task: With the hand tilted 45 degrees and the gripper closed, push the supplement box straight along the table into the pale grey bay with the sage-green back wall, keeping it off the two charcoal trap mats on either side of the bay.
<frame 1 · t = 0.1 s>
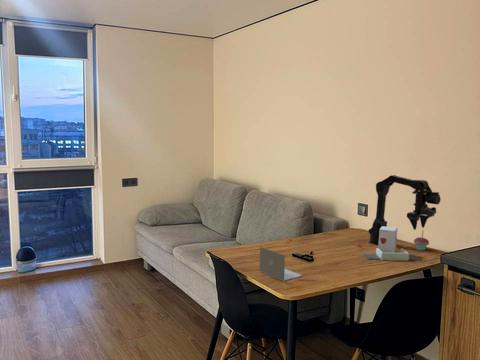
hand: (418, 228, 253), 15 cm above the table, tool pointing down, fingers open, 9 cm apart
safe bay: (391, 257, 245), on the table
supplement box: (387, 253, 254), on the table
cupcake: (420, 249, 263), on the table
laptop: (280, 274, 215), on the table
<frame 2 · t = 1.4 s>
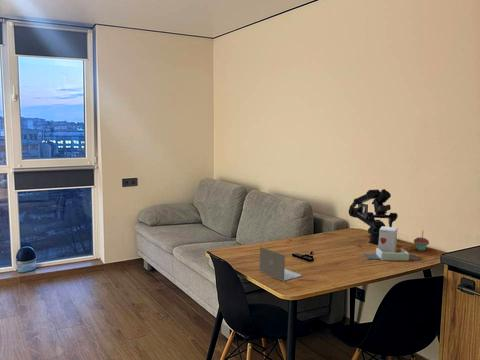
hand: (383, 228, 262), 12 cm above the table, tool tilted 45°, fingers open, 9 cm apart
nothing on the table moved.
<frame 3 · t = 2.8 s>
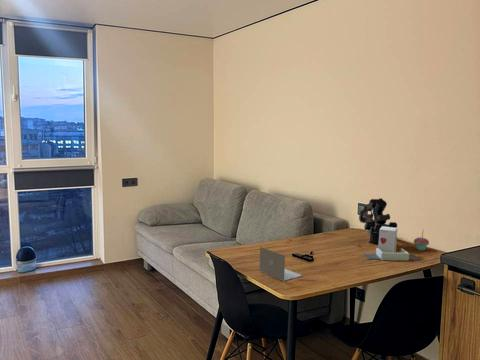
hand: (383, 238, 261), 7 cm above the table, tool tilted 45°, fingers closed
nothing on the table moved.
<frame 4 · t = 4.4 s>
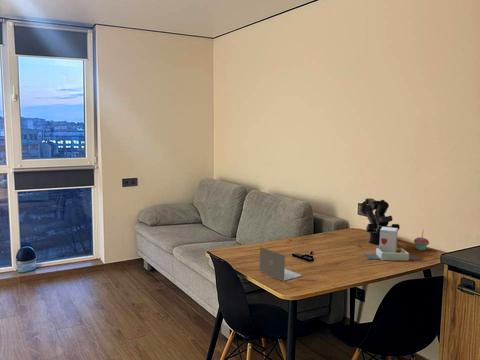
hand: (385, 240, 257), 7 cm above the table, tool tilted 45°, fingers closed
supplement box: (387, 254, 252), on the table
everything else where it was.
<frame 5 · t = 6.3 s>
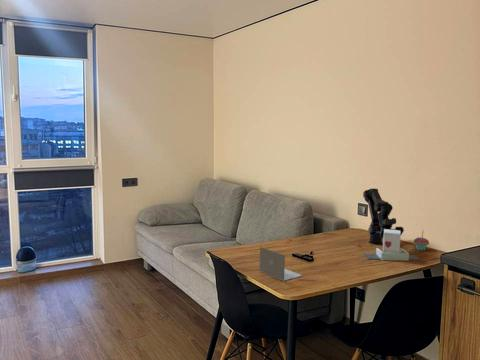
hand: (388, 243, 250), 7 cm above the table, tool tilted 45°, fingers closed
supplement box: (390, 257, 246), on the table
everything else where it was.
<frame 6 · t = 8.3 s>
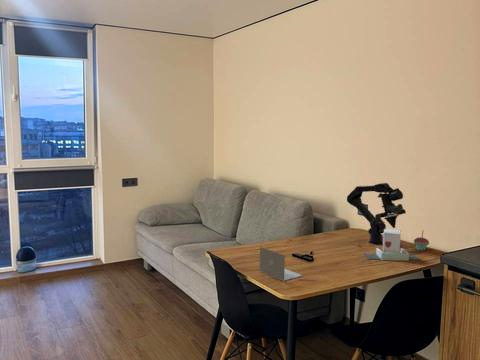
hand: (394, 227, 264), 12 cm above the table, tool tilted 20°, fingers closed
nothing on the table moved.
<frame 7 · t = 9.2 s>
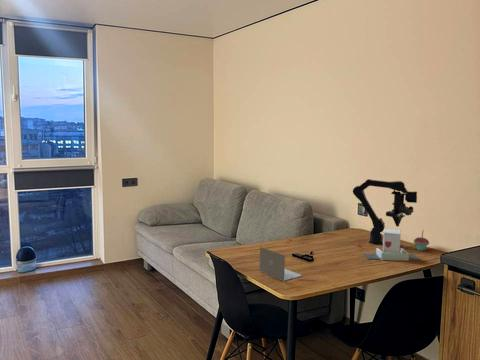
hand: (397, 226, 270), 12 cm above the table, tool pointing down, fingers closed
nothing on the table moved.
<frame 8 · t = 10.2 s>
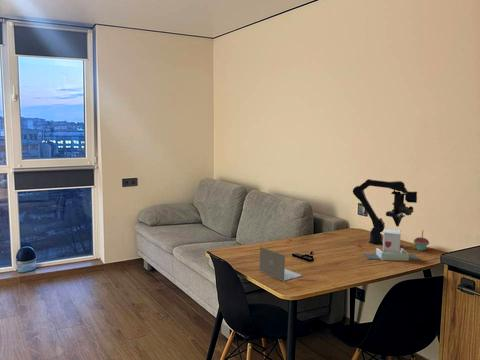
hand: (397, 226, 270), 12 cm above the table, tool pointing down, fingers closed
nothing on the table moved.
at the end: supplement box 0.9 cm from the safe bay (horizontally); supplement box tilted 0°; supplement box moved 7.4 cm from its start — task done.
